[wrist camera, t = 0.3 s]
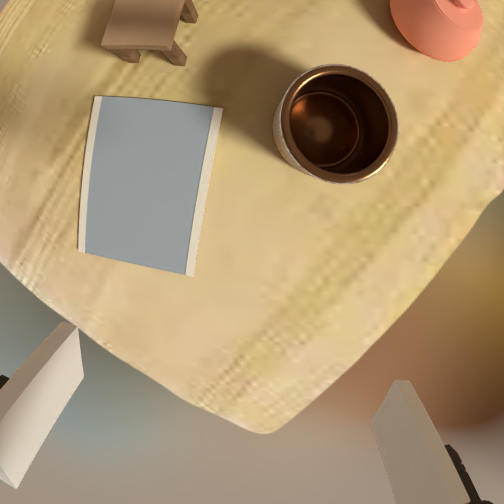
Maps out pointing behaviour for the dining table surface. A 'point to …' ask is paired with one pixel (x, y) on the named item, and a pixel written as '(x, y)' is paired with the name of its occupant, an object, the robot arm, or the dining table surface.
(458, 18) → the sugar bowl
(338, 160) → the planter
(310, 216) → the dining table surface
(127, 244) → the rug
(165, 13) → the stool
